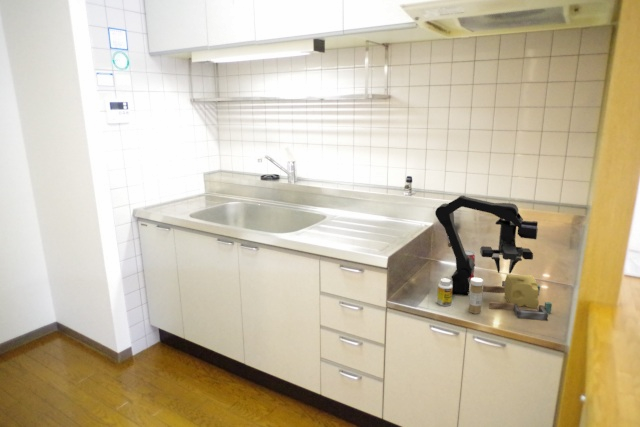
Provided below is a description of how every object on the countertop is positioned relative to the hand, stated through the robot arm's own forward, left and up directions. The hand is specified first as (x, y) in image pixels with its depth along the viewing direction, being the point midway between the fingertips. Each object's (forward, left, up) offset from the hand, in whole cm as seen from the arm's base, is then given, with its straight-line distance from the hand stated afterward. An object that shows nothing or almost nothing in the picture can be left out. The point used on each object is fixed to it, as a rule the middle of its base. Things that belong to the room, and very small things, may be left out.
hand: (504, 272), depth 170 cm
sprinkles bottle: (-12, -12, -12) cm, 21 cm away
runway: (+5, 0, -12) cm, 13 cm away
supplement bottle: (-23, -7, -12) cm, 27 cm away
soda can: (-12, +20, -12) cm, 26 cm away
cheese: (+7, 0, -12) cm, 14 cm away
